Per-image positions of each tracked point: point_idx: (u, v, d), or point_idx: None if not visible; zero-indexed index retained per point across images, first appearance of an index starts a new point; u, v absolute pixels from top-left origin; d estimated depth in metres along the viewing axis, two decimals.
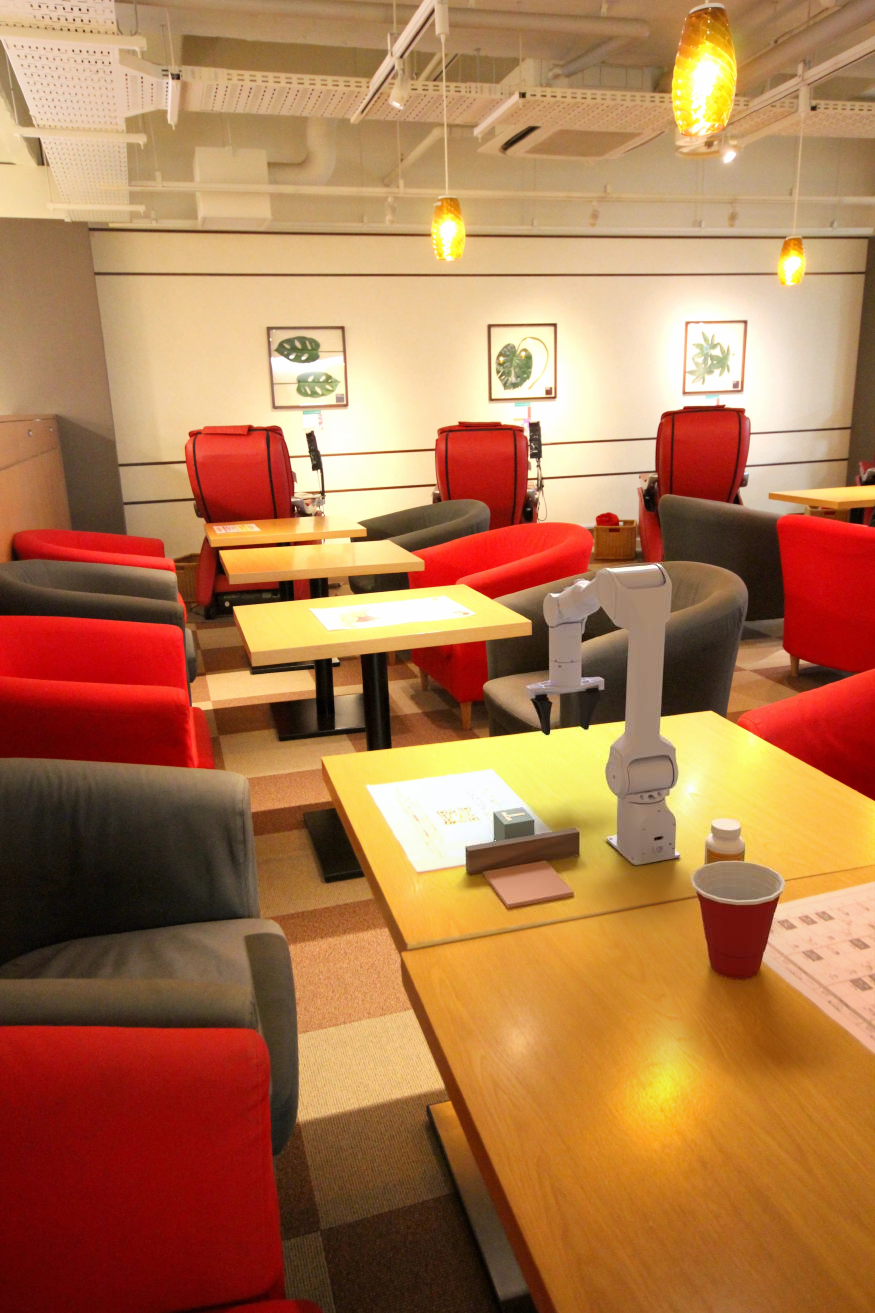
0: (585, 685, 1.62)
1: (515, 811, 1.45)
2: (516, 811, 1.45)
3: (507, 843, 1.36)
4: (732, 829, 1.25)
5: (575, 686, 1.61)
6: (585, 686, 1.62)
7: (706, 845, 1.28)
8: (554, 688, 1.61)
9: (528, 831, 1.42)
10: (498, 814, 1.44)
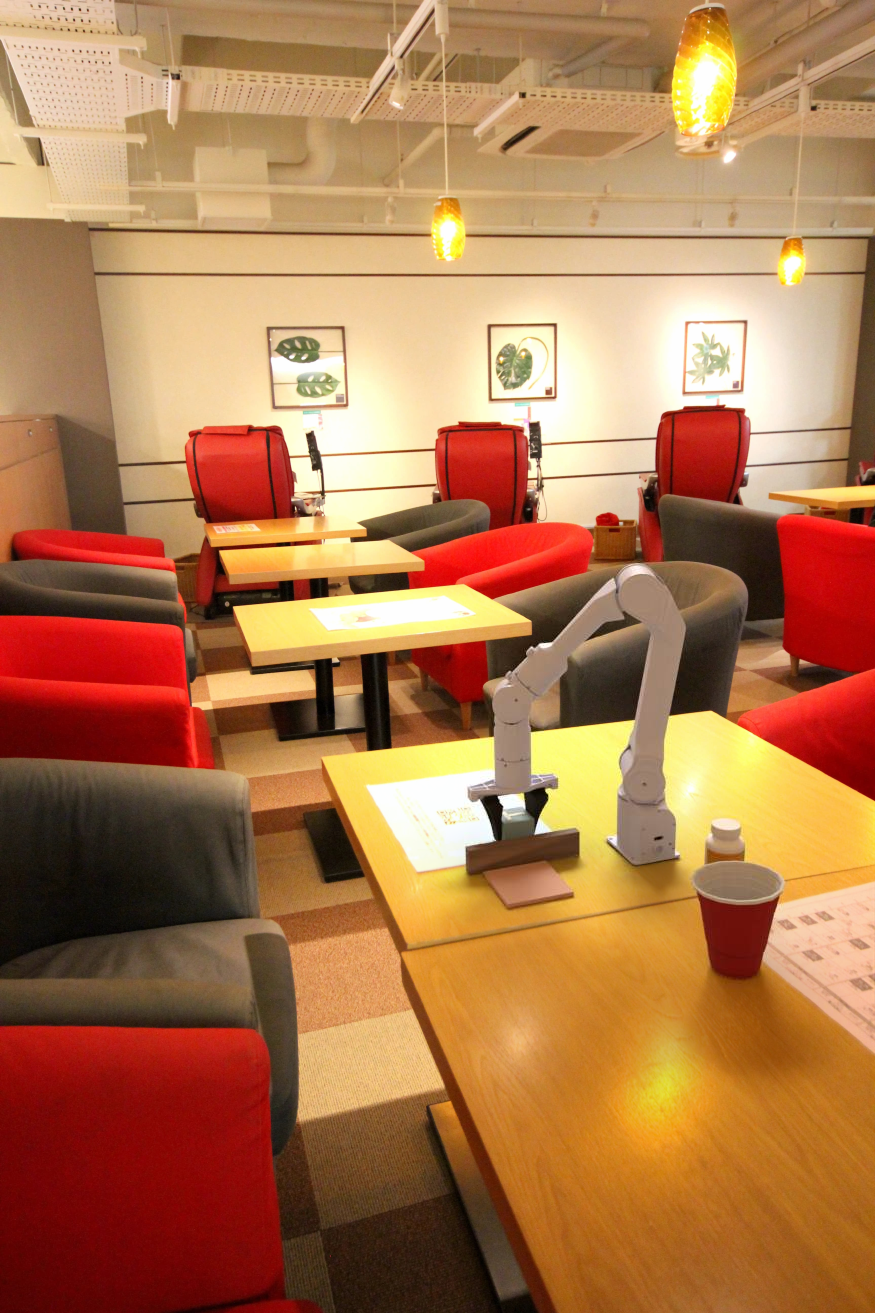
0: (535, 786, 1.41)
1: (515, 810, 1.45)
2: (516, 810, 1.45)
3: (507, 843, 1.36)
4: (732, 829, 1.25)
5: (523, 788, 1.40)
6: (536, 787, 1.41)
7: (706, 845, 1.28)
8: (499, 790, 1.39)
9: (528, 830, 1.42)
10: None
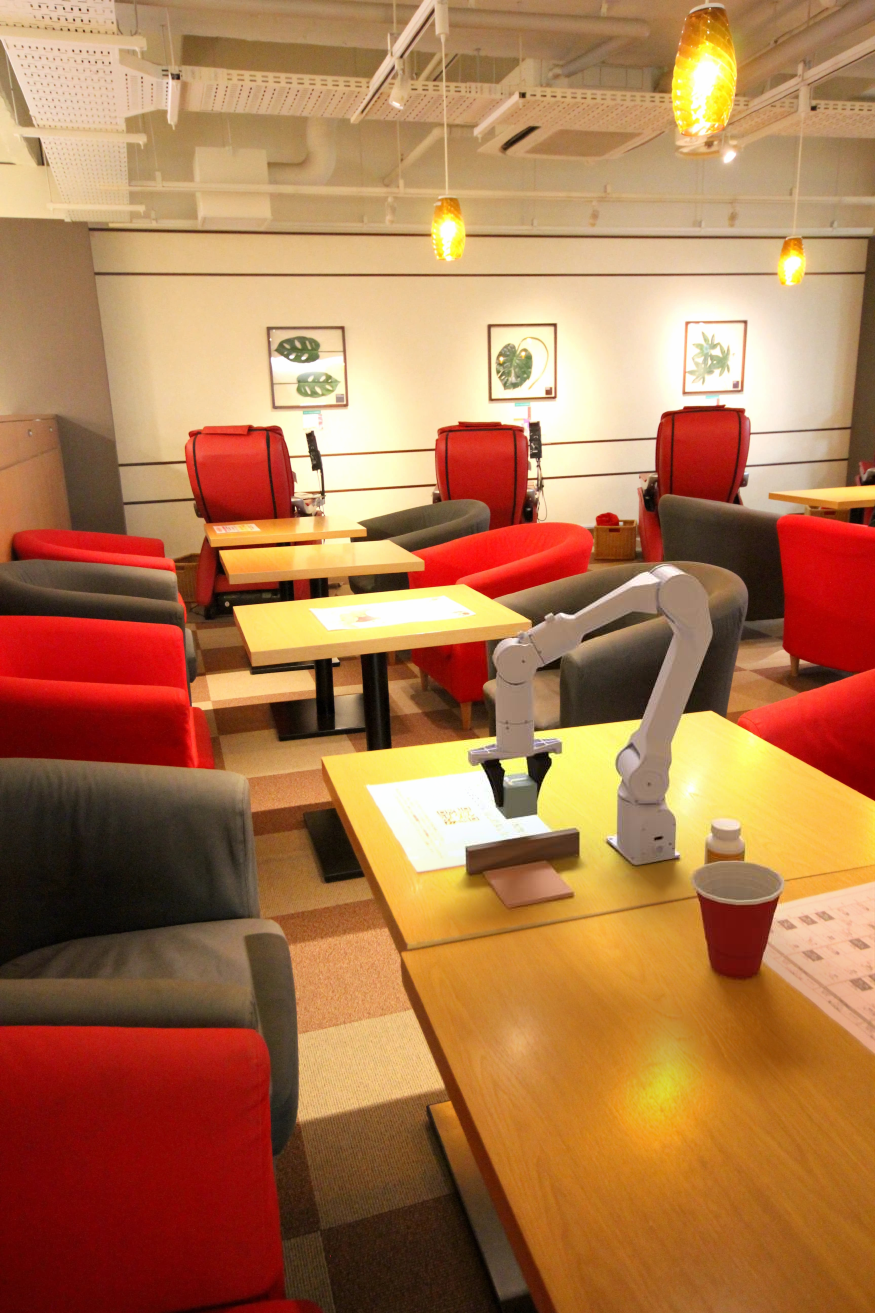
0: (538, 749, 1.36)
1: (517, 776, 1.41)
2: (518, 776, 1.40)
3: (507, 843, 1.36)
4: (732, 829, 1.25)
5: (526, 751, 1.35)
6: (538, 751, 1.36)
7: (706, 845, 1.28)
8: (501, 754, 1.35)
9: (530, 796, 1.38)
10: None
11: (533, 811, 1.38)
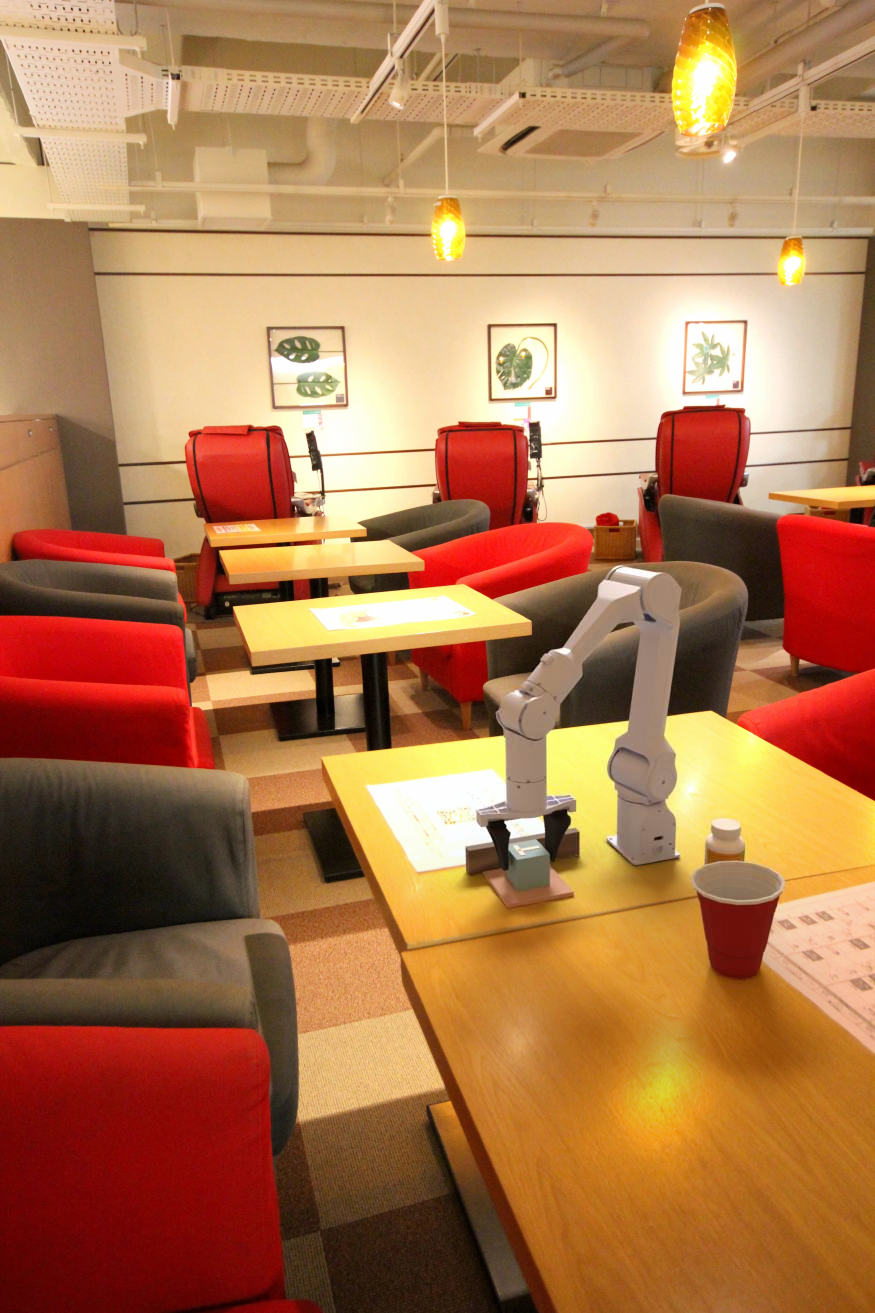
0: (551, 809, 1.28)
1: (528, 843, 1.32)
2: (529, 844, 1.32)
3: None
4: (732, 829, 1.25)
5: (538, 811, 1.26)
6: (552, 810, 1.28)
7: (706, 845, 1.28)
8: (512, 814, 1.26)
9: (543, 867, 1.29)
10: (510, 847, 1.31)
11: (545, 882, 1.30)
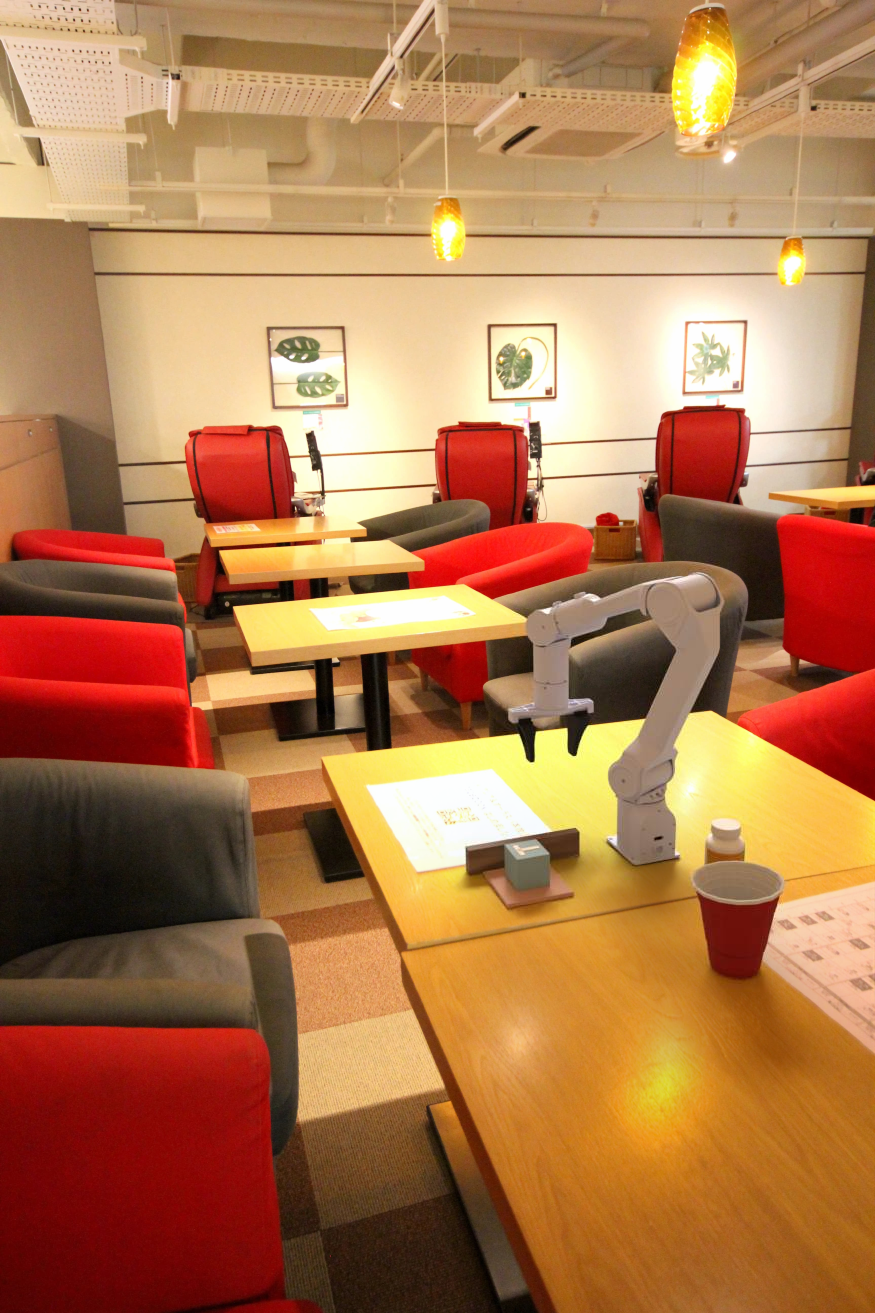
0: (573, 708, 1.49)
1: (528, 843, 1.32)
2: (529, 844, 1.32)
3: (507, 843, 1.36)
4: (732, 829, 1.25)
5: (562, 709, 1.48)
6: (573, 709, 1.49)
7: (706, 845, 1.28)
8: (539, 712, 1.47)
9: (543, 867, 1.29)
10: (510, 847, 1.31)
11: (545, 882, 1.30)
